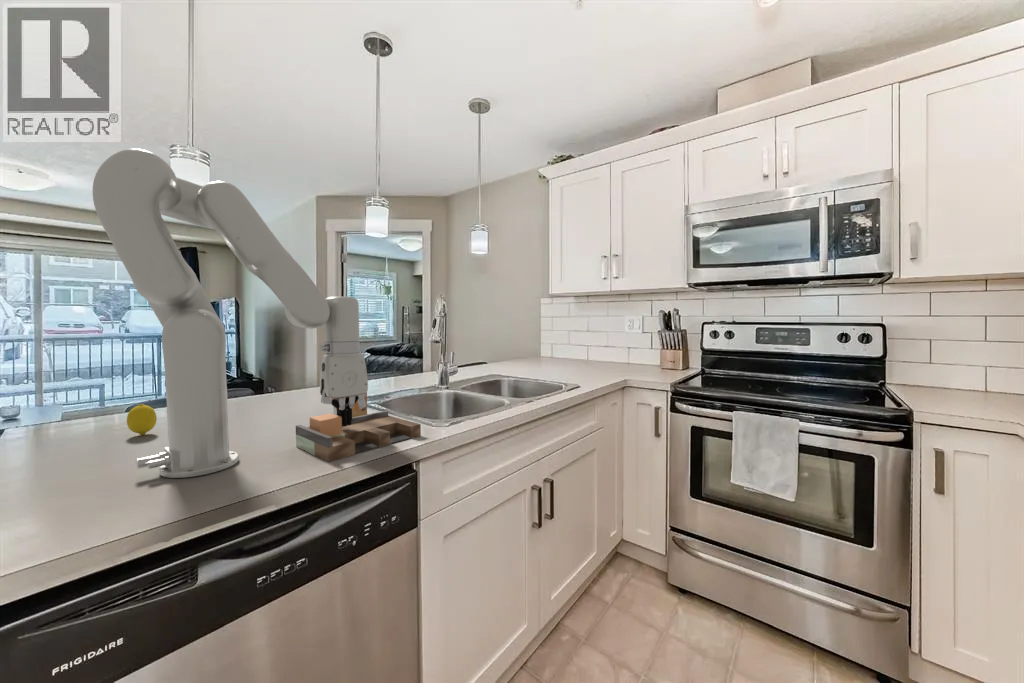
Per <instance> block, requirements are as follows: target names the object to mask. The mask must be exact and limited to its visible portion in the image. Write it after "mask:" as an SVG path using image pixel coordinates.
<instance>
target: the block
mask: <svg viewBox="0 0 1024 683" xmlns="http://www.w3.org/2000/svg"><path fill="white" fill-rule="evenodd" d="M309 426H310V429H312V430H315V431H317V432H320V433H323V434H325V435H328V436H334V435H338V434H342V417H341V416H338V415H334V414H333V413H326V414H320V415H315V416H310V417H309Z"/></svg>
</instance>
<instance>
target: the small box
mask: <svg viewBox="0 0 1024 683" xmlns="http://www.w3.org/2000/svg"><path fill="white" fill-rule="evenodd" d="M365 394H366V396H365V397H363V398H361V399H358V400H357V402H356V403H355V404H354V407H353V408H352V417H357V416H362V415H367V414H368V391H367V392H366V393H365ZM343 399H344V398H343ZM332 406H333V405H332ZM332 410H333V413H332V414H334V415H337V409H336V408H335V407H334V406H333V408H332Z"/></svg>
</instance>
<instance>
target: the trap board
mask: <svg viewBox="0 0 1024 683" xmlns="http://www.w3.org/2000/svg"><path fill="white" fill-rule="evenodd" d="M421 426H422V425H421V423H417V422H414V421H410V420H406V419H404V418H399V417H396V416H392V415H389V410H383V411H376V412H373V413H367V415H362V416H357V417H352V420H351V425H347V426H342V434H338V435H334V436H328V435H325V434H323V433H320V432H317V431H315V430H312V429H310V425H309V426H304V425H302V424H298V425H295V446H296V448H297V447H298V448H297V449H299V448H300V450H301V451H304V450H305V451H304V452H306V453H308V452H309V453H308V454H310V453H311V455H312V454H313V455H312V456H314V455H315V457H316V458H319V457H320V458H319V459H321V458H322V459H321V460H323V459H324V460H323V461H325V460H326V461H325V462H328V463H329V462H333V461H337V460H340V459H343V458H346V457H350V456H355V455H357V454H361V453H362V454H363V453H365V452H368V451H372V450H376V449H380V448H382V447H386V446H390V445H394V444H397V443H401V442H403V441H407V440H411V439H415V438H418V437H421V435H422V434H421V431H422V430H421V428H422V427H421Z"/></svg>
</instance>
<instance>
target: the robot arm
mask: <svg viewBox="0 0 1024 683" xmlns="http://www.w3.org/2000/svg"><path fill="white" fill-rule="evenodd" d="M92 201H93V207H94V208H95V211H96V215H97V217H98V219H99V220H98V221H100V224H101V225H102V228H103V230H104V232H105V233H106V234H107V236H108V239H109V240H110V242H111V244H112V246H113V248H114V251H115V252H116V253H117V256H118V257H119V259H120V260H121V262H122V264H123V266H124V268H125V269H126V271H127V273H128V275H129V277H130V279H131V280H132V283H133V285H134V288H135V290H136V291H137V292H138V294H139V295H140V296H141V297H143V298H144V299H145V300H146V301H147V302H148V304H149V306H150V308H151V309H152V310H153V311H152V312H154V314H155V316H156V318H157V320H158V321H159V323H160V325H161V326H162V332H161V347H162V354H163V364H164V365H163V366H164V378H165V379H164V381H165V395H166V413H167V435H168V436H167V437H168V439H167V440H168V446H165V447H163V451H161V452H158V453H157V454H155V455H150V456H143V457H137V458H136V459H135V466H136V469H137V470H140V469H145V468H148V470H150V469H156V468H158V467H159V468H158V470H159V475H160V476H162V477H164V478H169V479H180V478H181V479H184V478H185V479H186V478H192V477H194V478H195V477H198V476H204V475H210V474H213V473H216V472H220V471H223V470H225V469H228V468H230V467H233V466H234V465H236V464H237V462H239V459H240V458H239V457H240V456H239V453H238V452H236V451H233V450H230V434H229V411H228V410H229V408H228V405H229V404H228V386H227V385H228V384H227V361H226V360H227V352H226V349H227V344H226V343H227V341H226V340H227V338H226V337H227V336H226V335H227V334H226V329H225V325H224V324H223V322H222V320H221V318H219V316H218V314H217V312H216V311H215V309H214V307H213V304H211V301H210V299H209V298H208V296H207V294H206V292H205V290H204V288H203V286H202V285H201V282H200V281H199V279H198V277H197V274H196V273H195V272H194V270H193V269H192V267H191V266H190V265H189V264H188V263H187V261H186V259H185V258H184V257H183V255H182V253H181V251H180V249H179V248H178V246H177V245H176V242H175V241H174V239H173V236H172V234H171V232H170V230H169V228H168V227H167V224H166V223H165V221H164V219H163V216H165V217H168V218H172V219H175V220H178V221H182V222H185V223H189V224H192V225H195V226H199V227H203V228H206V229H211V230H214V231H216V233H217V234H218V235H219V236H220V238H221V240H222V241H223V242H224V243H225V244H226V245H227V247H228V248H229V249H230V250H231V252H232V253H233V254H234V255H235V257H236V258H237V259H238V260H239V261H240V263H241V264H242V266H243V267H244V268H246V269H247V270H248V272H250V273H251V274H253V275H254V276H255V277H257V278H258V279H260V280H261V281H262V282H263V283H264V284H265V285H266V286H267V287H268V288H269V289H270V290H271V291H272V292H273V294H274V295H275V297H277V299H278V300H279V301H280V302H281V304H282V305H283V306H284V308H285V309H284V313H285V317H286V319H287V320H288V322H290V324H291V325H294V326H295V327H297V328H302V329H311V330H312V329H317V328H320V327H322V326H324V344H321V345H319V350H320V351H321V352H324V355H322V360H321V363H320V364H321V365H320V372H319V394H320V395H321V399H320V403H322V404H325V405H332V406H334V407H335V408H336V409H337V415H338V416H341V417H342V426H347V425H351V420H352V408H353V407H354V404H355V403H356V402H357V400H358V399H361V398H363V397H365V396H366V394H365V393H366V392H367V393H368V390H369V383H368V382H369V378H368V372H367V371H368V369H367V365H366V359H365V356H364V353H362V352H361V351H360V350H361V348H360V346H361V345H360V308H359V307H360V306H359V300H358V299H357V298H355V297H353V296H340V295H339V296H336V295H335V296H328V297H325V295H323V293H322V291H321V290H320V289H319V288H318V287H317V285H316V284H315V283H314V281H313V280H312V278H311V277H310V276H309V275H308V273H307V272H306V271H305V270H304V268H303V267H302V266H301V265H300V264H299V263H298V262H297V261H296V260H295V259H294V258H293V256H292V255H291V254H290V252H289V251H288V250H287V249H286V248H284V246H283V245H282V243H281V241H280V240H279V239H278V238H277V237H276V235H275V234H274V232H272V231H271V229H270V228H269V227H268V225H267V223H266V222H265V220H264V219H263V218H262V216H260V214H259V212H258V211H257V210H256V208H255V207H254V206H253V205H252V203H251V202H250V201H249V199H248V198H247V196H245V195H244V193H243V192H242V190H241V189H239V188H238V187H237V186H236V185H234V184H232V183H230V182H228V181H223V180H222V181H221V180H216V181H210V182H207V183H205V184H204V185H200V184H197V183H194V182H191V181H188V180H185V179H183V178H180V177H177V176H176V174H175V171H174V170H173V169H172V167H171V166H170V165H169V163H168V162H166V160H164V159H163V158H161V157H160V156H159V155H157V154H156V153H154V152H151V151H149V150H146V149H141V148H125V149H122V150H119V151H117V152H116V153H114V154H112V155H110V156H109V157H108V158H107V159H105V160H104V162H102V164H101V165H100V166H99V168H98V169H97V171H96V173H95V176H94V178H93V182H92ZM343 398H344V399H343Z"/></svg>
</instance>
